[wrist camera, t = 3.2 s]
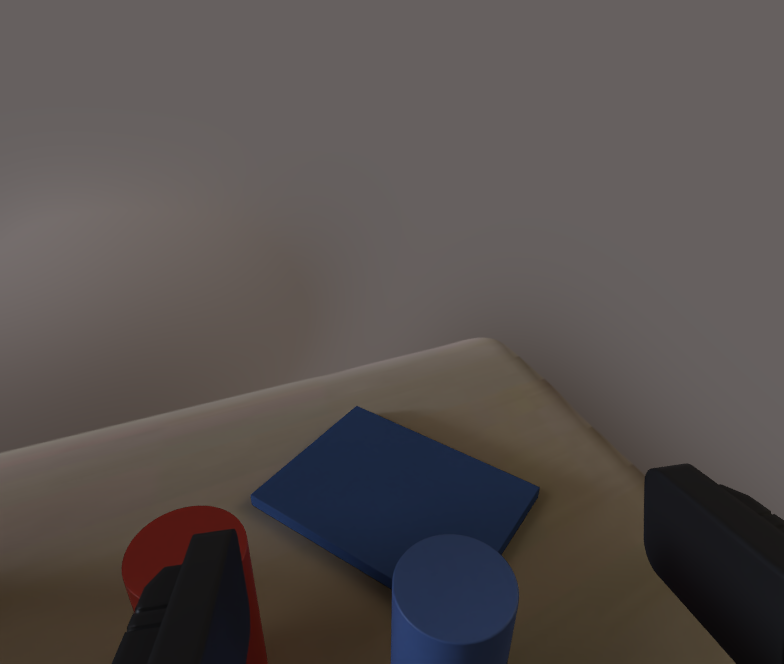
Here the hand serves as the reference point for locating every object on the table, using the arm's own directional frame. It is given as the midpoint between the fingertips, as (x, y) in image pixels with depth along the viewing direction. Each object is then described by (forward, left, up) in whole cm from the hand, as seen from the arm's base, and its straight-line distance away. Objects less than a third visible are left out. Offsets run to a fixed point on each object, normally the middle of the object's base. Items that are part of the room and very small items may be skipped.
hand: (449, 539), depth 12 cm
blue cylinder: (-3, +7, -22) cm, 24 cm away
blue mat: (-13, +18, -22) cm, 32 cm away
